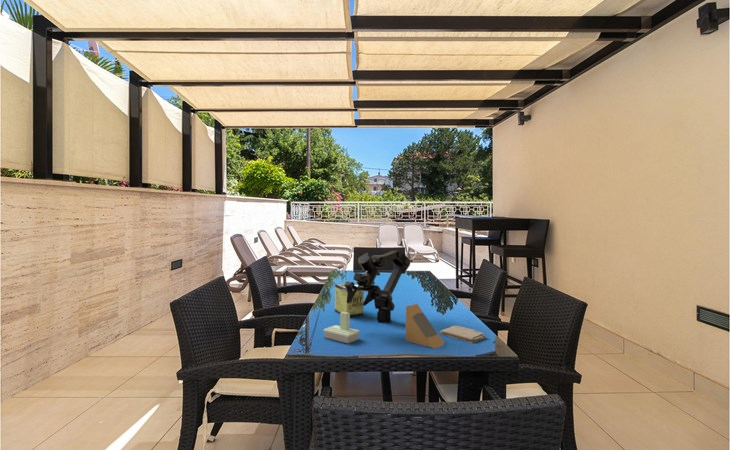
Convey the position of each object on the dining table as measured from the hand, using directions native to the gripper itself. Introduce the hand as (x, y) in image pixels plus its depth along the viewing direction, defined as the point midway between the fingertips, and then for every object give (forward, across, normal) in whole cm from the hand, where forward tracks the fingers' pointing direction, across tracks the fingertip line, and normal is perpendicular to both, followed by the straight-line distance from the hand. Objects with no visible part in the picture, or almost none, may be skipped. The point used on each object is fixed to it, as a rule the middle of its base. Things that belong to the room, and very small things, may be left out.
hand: (355, 303), depth 177 cm
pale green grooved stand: (+14, 0, 0) cm, 15 cm away
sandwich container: (+4, +32, +16) cm, 35 cm away
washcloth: (-9, +41, +29) cm, 51 cm away
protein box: (-9, -24, +29) cm, 38 cm away
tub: (+17, 0, +2) cm, 17 cm away
